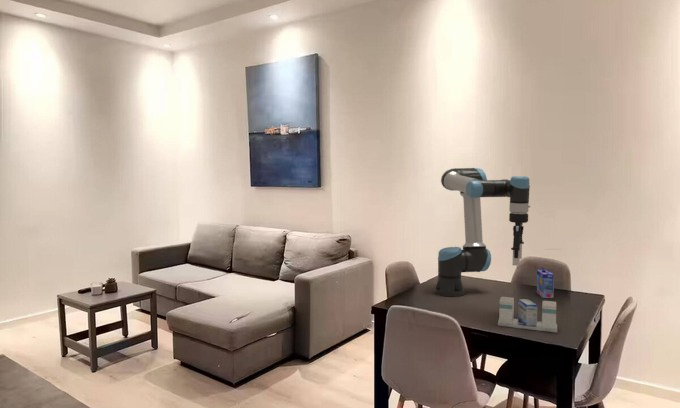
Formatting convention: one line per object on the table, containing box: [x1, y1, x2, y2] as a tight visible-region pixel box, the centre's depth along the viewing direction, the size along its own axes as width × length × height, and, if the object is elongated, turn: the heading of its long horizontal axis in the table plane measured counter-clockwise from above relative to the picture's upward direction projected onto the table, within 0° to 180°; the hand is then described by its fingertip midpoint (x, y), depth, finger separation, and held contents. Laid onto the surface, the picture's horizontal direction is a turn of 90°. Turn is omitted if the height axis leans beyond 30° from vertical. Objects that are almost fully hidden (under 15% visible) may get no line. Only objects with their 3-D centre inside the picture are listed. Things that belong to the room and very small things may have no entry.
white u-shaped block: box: [497, 296, 558, 334], centre depth 188 cm, size 22×8×10 cm, turn 66°
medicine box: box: [517, 298, 538, 326], centre depth 188 cm, size 8×4×9 cm, turn 4°
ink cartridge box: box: [536, 266, 555, 299], centre depth 233 cm, size 10×6×14 cm, turn 174°
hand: (517, 262), depth 199 cm, fingers open, 13 cm apart
